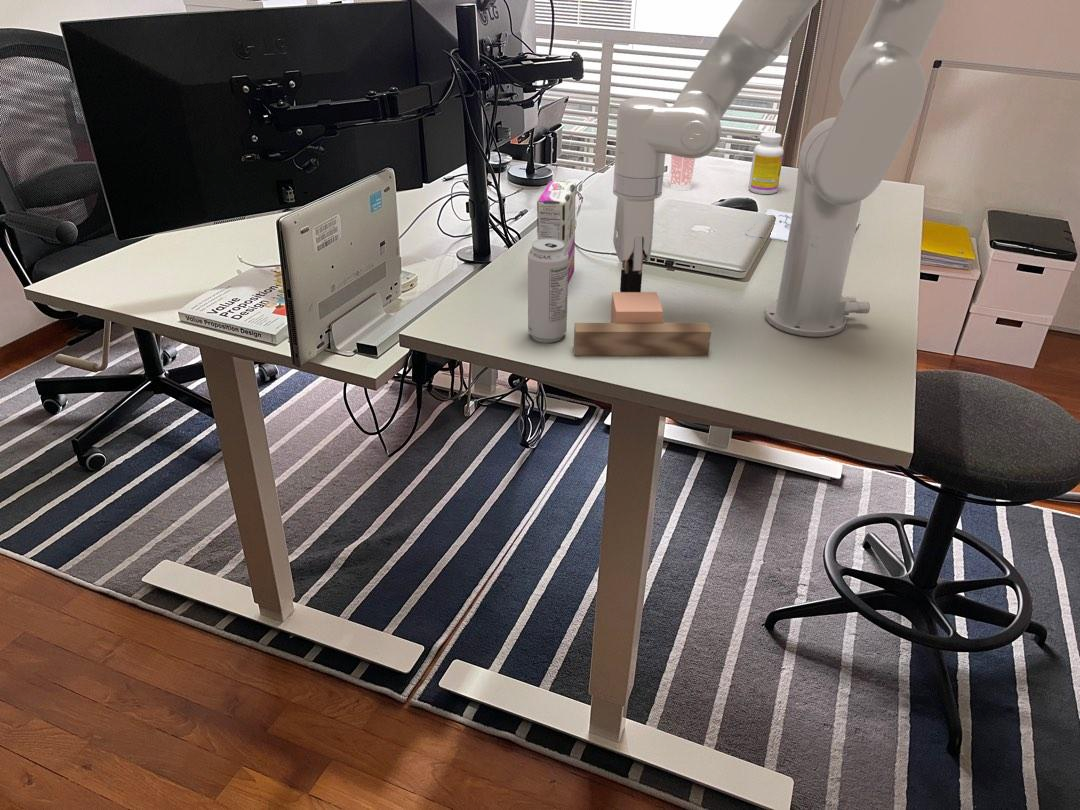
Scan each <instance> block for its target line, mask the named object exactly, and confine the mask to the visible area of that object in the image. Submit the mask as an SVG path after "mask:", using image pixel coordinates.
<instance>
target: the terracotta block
mask: <svg viewBox="0 0 1080 810" xmlns="http://www.w3.org/2000/svg"><path fill="white" fill-rule="evenodd" d="M659 298H660V297H659V295H658V292H655V291H653V292H652V291H650V292H647V291H644V292H643V291H641V292H620V291H618V292H617V291H615V292H614V291H612V293H611V304H610V305H611V306H610V320H609V321H610V322H609V323H663V315H664V311H663V307H662V303H661V300H660V299H659Z"/></svg>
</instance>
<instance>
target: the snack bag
mask: <svg viewBox="0 0 1080 810" xmlns="http://www.w3.org/2000/svg"><path fill="white" fill-rule="evenodd" d="M764 214H767V215H775V217H776V221H775V225H774V228H773V230H772V232H771V235H770V238H771V239H772V240H771V241H776V240H780V241H779V242H781V241H784V242H783V243H787V242H788V237H789V231H790V225H791V220H792V214H793V212H785V211H780V210H777V209H773V208H767V209H766V211H765V213H764ZM860 222H861V219H859V218H858V222H857V227H856V229H857V228H858V227H859V225H860Z"/></svg>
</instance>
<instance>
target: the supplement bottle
mask: <svg viewBox="0 0 1080 810" xmlns="http://www.w3.org/2000/svg"><path fill="white" fill-rule="evenodd" d="M759 136H760V137H759V141H760V143H759V144H756V146H755V147H754V148H753V152H752V161H751V169H750V175H749V176H750V177H749V183H748V189H749V191H750V192H752V193H755V194H758V195H772V194H775V193H777V192H778V189H779V183H780V178H781V171H782V163H783V157H784V152H785V151H784V149H783V147H782V146H781V145H780V143H781V141H782V136H783V135H782V134H781V133H779V132H778V133H776V132H772V131H768V132H767V131H766V132H761V133H760V135H759Z"/></svg>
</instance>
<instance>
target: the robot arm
mask: <svg viewBox="0 0 1080 810" xmlns="http://www.w3.org/2000/svg"><path fill="white" fill-rule="evenodd" d="M947 1H948V0H875V3H874V5H873V7H872V11H871V12H870V13H869V17H868V20H867V21H866V22H865V25H864V27H863V29H862V32H861V34H860V35H859V37H858V40H857V42H856V43H855V46H854V48H853V49H852V52H851V53H850V54H849V55H850V56H849V57H848V59H847V61H846V63H845V65H844V67H843V69H842V72H841V73H840V77H839V84H838V85H839V93H840V95H841V97H842V100H843V103H842V105H841V107H840V108H839V111H838V113H837V115H836V116H834V117H830V118H826V119H824V120H822V121H820V122H819V123H817V124H816V125H814V127H812V129H810V131H809V132H808V134H807V135H806V136H805V138H804V140H803V143H802V144H801V145H802V146H801V148H800V153H799V157H798V167H797V175H796V177H797V178H796V188H795V189H796V190H795V196H794V203H793V209H792V213H793V214H792V220H791V225H790V231H789V237H788V243H787V242H786V243H787V244H786V249H785V255H784V261H783V267H782V273H781V279H780V285H779V289H778V290H779V291H778V295H777V300H773V301H772V302H770V303H769V304H768V305H767V306H766V309H765V312H764V317H765V319H766V321H767V322H768V323H769V324H770V325H771V326H773V327H775V328H776V329H778V330H780V331H783V332H785V333H789V334H792V335H796V336H801V337H802V336H803V337H807V338H808V337H812V338H813V337H815V338H816V337H817V338H818V337H819V338H820V337H829V336H832V335H837V334H839V333H840V332H842V331H843V330H844V329H845V327H846V324H847V317H846V316H849V315H850V314H869V313H870V309H871V306H870V302H869V301H857V297H856V296H843V289H844V284H845V280H846V274H847V271H848V266H849V261H850V258H851V252H852V248H853V243H854V239H855V236H856V235H855V234H856V232H857V231H856V229H857V228H858V227H857V222H858V219H859V217H860V210H861V205H862V201H863V200H865V199H867V198H868V197H869V196H870V195H872V194H873V193H874V191H876V189H877V188H878V187H879V186H880V184H881V183H882V181H883V179H885V176H886V175H887V173H888V171H889V170H890V168H891V166H892V164H893V162H894V161H895V159H896V157H897V155H898V153H899V152H900V150H901V147H902V146H903V144H904V142H905V141H906V138H907V137H908V135H909V133H910V131H911V129H912V127H913V125H914V124H915V122H916V120H917V118H918V116H919V114H920V112H921V109H922V107H923V103H924V100H925V97H926V91H927V77H926V73H925V70H924V68H923V66H922V64H921V63H920V61H921V59H922V56H923V55H924V52H925V50H926V47H927V46H928V44H929V42H930V40H931V38H932V36H933V34H934V31H935V29H936V27H937V25H938V23H939V20H940V18H941V16H942V14H943V12H944V9H945V8H946V7H945V6H946V5H947ZM818 2H819V0H741V1H740V3H739V5H738V6H737V7H736V9H735V11H734V12H733V13H732V15H731V16H730V17H729V20H728V21H727V23H726V24H725V26H724V27H723V28H722V30H721V32H720V33H719V35H718V37H717V38H716V39H715V41H714V42H713V44H712V46H711V47H709V49H708V51H707V53H706V54H705V55H704V57H703V58H702V60H701V61H700V62H699V64H698V65H697V67H696V69H695V70H694V72H693V73H692V75H691V77H690V78H689V79H688V81H687V82H686V84H685V85H684V87H683V88H682V90H681V91H680V93H679V95H678V97H677V98H676V100H675V101H674V103H673V105H672V106H668V104H667V103H666V102H665V101H664V100H661V99H659V98H654V97H650V96H649V97H647V96H646V97H644V96H637V97H636V96H635V97H630V98H626V99H624V100H623V101H621V103H619V106H618V109H617V116H616V117H617V118H616V133H615V134H616V135H615V148H614V149H615V153H614V171H613V184H612V185H613V188H612V193H613V194H614V196H616V197H617V199H616V209H615V219H614V228H613V239H612V240H613V245H614V246H613V247H614V249H615V253H616V256H617V258H618V260H619V261H620V262H622V263H621V265H622V266H621V267H622V269H621V272H620V283H619V284H620V285H619V292H642V283H643V282H642V279H643V264H644V261H645V262H648V261H649V260H650V259H651V253H652V246H653V244H652V243H653V235H654V234H653V232H654V219H655V218H654V217H655V200H656V199H658V198H660V197H661V196H663V194H662V193H663V185H664V184H663V183H664V172H665V164H666V163H665V161H666V155H670V156H671V155H675V156H679V157H684V158H695V159H701V158H704V157H706V156H708V155H710V154H711V153H712V152H713V151H714V150H715V149H716V147H717V146H718V145H719V142H720V139H721V137H722V136H721V135H722V124H721V120H722V118H723V117H724V115H725V114H726V112H727V111H728V109H729V107H731V105H732V104H733V102H734V101H735V99H736V97H738V95H739V94H740V92H741V91H742V90H743V89H744V87H745V86H746V85H747V84H748V82H749V81H750V80H751V79H752V78H753V77H754V76H755V75H756V74H757V73H759V72H760V71H762V70H763V69H765V68H766V67H768V66H769V65H771V64H772V63H773V62H775V60H776V59H778V58H779V56H780V55H781V54H782V52H784V50H785V49H786V48H787V46H788V45H789V43H790V41H791V40H792V39H793V37H794V35H795V34H796V33H797V31H798V29H799V28H800V27H801V26H802V24H803V22H804V21H805V19H806V18H807V17H808V15H809V14H810V13H811V11H812V9H813V8H814V7H815V6H816V5H817V3H818ZM856 227H857V228H856Z"/></svg>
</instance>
